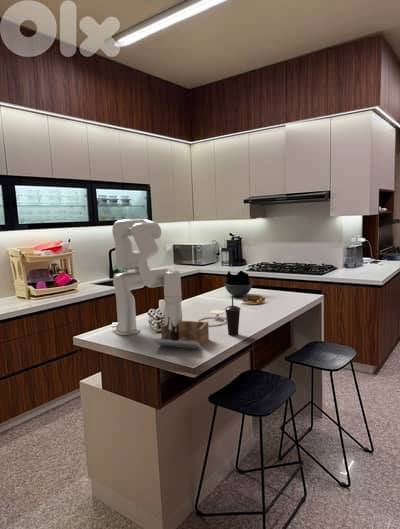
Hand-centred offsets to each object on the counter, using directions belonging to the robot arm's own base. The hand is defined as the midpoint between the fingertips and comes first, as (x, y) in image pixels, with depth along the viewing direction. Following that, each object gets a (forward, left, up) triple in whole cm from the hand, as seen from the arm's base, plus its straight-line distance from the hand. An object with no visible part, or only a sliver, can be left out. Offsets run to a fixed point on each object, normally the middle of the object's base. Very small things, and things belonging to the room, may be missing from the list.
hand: (175, 339), depth 163 cm
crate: (0, +13, -6) cm, 15 cm away
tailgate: (0, +7, -6) cm, 9 cm away
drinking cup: (+20, +29, -6) cm, 36 cm away
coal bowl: (+6, +115, -6) cm, 116 cm away
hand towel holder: (+4, +50, -7) cm, 51 cm away
